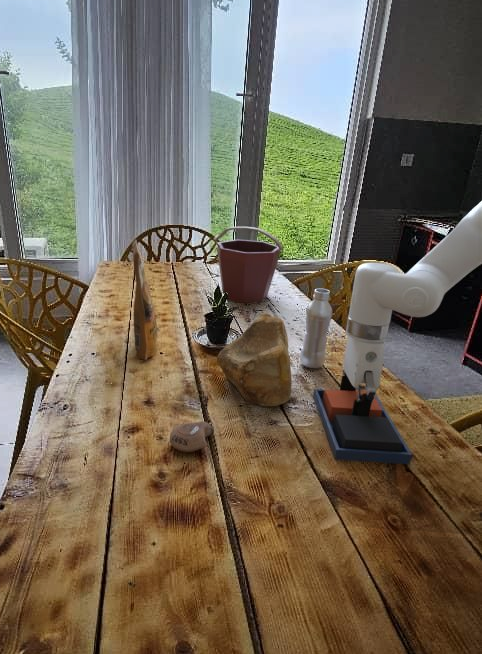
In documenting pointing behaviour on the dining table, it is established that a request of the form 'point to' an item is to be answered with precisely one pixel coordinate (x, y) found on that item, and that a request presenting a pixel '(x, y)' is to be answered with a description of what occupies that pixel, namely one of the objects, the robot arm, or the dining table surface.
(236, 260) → the bucket
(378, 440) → the pad
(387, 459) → the pad frame
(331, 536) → the dining table surface
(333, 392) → the orange red rectangular block
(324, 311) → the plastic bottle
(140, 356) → the pancake mix bag
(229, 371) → the rough brown rock
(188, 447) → the oil lamp
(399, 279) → the robot arm
